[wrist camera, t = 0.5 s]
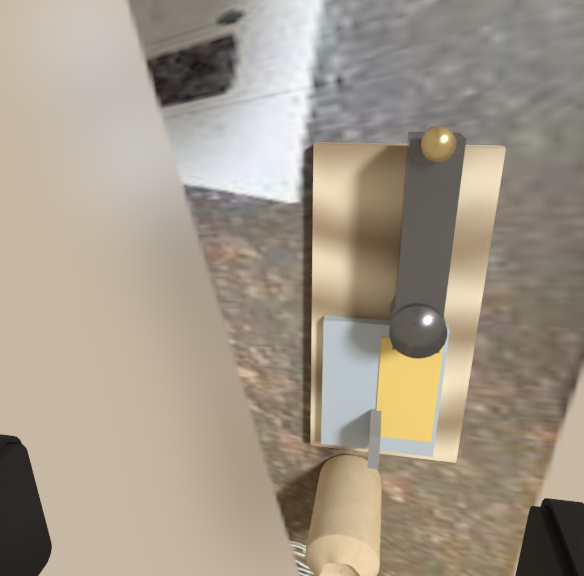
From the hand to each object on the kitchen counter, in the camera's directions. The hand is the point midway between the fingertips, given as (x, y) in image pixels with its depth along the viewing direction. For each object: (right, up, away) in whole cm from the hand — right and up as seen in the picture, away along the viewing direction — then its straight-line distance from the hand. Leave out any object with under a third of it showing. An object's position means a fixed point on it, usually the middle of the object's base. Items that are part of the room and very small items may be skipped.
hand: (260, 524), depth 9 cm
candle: (+6, -13, +36) cm, 39 cm away
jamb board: (+8, +2, +29) cm, 30 cm away
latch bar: (+9, +8, +24) cm, 27 cm away
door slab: (+7, -3, +30) cm, 32 cm away
